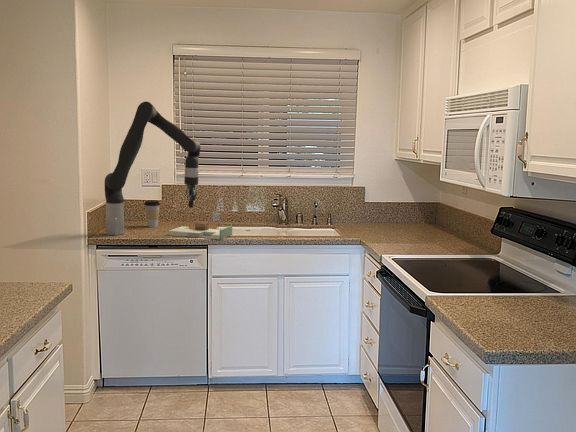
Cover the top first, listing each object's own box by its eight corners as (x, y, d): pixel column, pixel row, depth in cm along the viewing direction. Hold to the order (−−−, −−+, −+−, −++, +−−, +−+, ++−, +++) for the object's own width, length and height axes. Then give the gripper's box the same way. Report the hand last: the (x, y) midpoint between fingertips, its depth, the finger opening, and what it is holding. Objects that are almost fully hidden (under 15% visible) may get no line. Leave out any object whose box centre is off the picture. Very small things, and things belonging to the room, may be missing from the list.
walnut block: (204, 230, 327) (205, 223, 326) (195, 230, 328) (195, 222, 328) (209, 229, 333) (209, 222, 332) (199, 228, 334) (199, 221, 334)
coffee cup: (161, 227, 348) (161, 202, 346) (145, 228, 345) (145, 202, 342) (159, 224, 357) (158, 200, 355) (143, 225, 353) (142, 200, 351)
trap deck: (221, 239, 315) (221, 230, 315) (168, 235, 324) (168, 226, 323) (232, 234, 331) (232, 225, 330) (181, 230, 339) (181, 222, 338)
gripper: (181, 175, 327) (180, 206, 329) (188, 177, 315) (187, 209, 318) (194, 175, 331) (193, 205, 333) (202, 177, 319) (201, 209, 321)
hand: (190, 207), depth 325 cm, fingers closed
